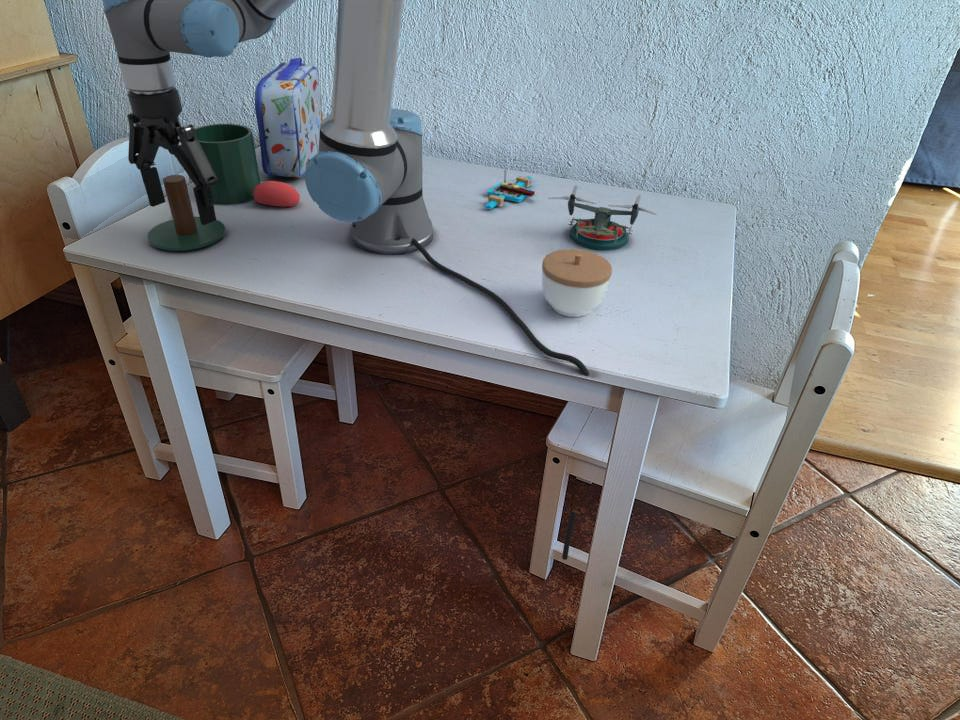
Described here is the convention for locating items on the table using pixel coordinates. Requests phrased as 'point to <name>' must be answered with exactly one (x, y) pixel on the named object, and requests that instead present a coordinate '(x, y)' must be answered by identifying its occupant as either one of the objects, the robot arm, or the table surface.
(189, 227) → the canister lid
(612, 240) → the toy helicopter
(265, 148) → the lunch box
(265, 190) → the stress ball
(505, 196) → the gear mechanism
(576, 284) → the trinket box
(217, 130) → the canister
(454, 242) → the table surface
